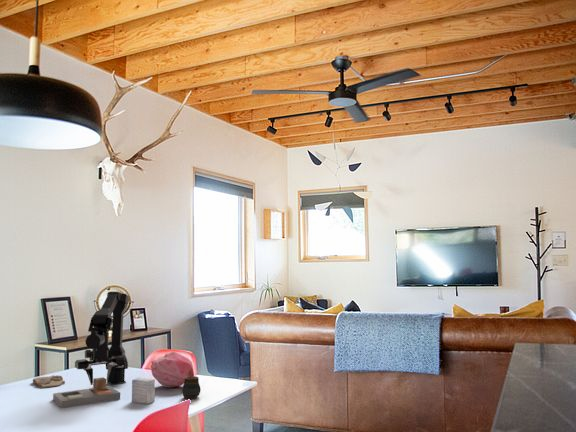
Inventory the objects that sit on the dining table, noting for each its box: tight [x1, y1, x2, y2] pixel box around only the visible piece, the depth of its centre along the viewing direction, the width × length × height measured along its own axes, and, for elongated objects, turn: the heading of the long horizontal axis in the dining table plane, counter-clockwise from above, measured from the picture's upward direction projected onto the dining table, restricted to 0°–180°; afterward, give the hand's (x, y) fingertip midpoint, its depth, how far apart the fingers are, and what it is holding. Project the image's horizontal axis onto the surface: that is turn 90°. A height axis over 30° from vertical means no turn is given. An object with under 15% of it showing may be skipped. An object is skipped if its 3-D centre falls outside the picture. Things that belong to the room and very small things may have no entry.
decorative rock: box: [150, 351, 195, 389], centre depth 233 cm, size 19×14×15 cm
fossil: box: [32, 374, 66, 389], centre depth 237 cm, size 11×15×4 cm
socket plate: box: [52, 385, 121, 409], centre depth 211 cm, size 22×14×3 cm, turn 126°
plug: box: [92, 376, 107, 393], centre depth 216 cm, size 4×4×7 cm
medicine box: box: [131, 377, 156, 405], centre depth 208 cm, size 8×4×9 cm, turn 65°
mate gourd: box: [181, 371, 202, 400], centre depth 215 cm, size 7×8×10 cm
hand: (99, 383), depth 216 cm, fingers open, 6 cm apart
